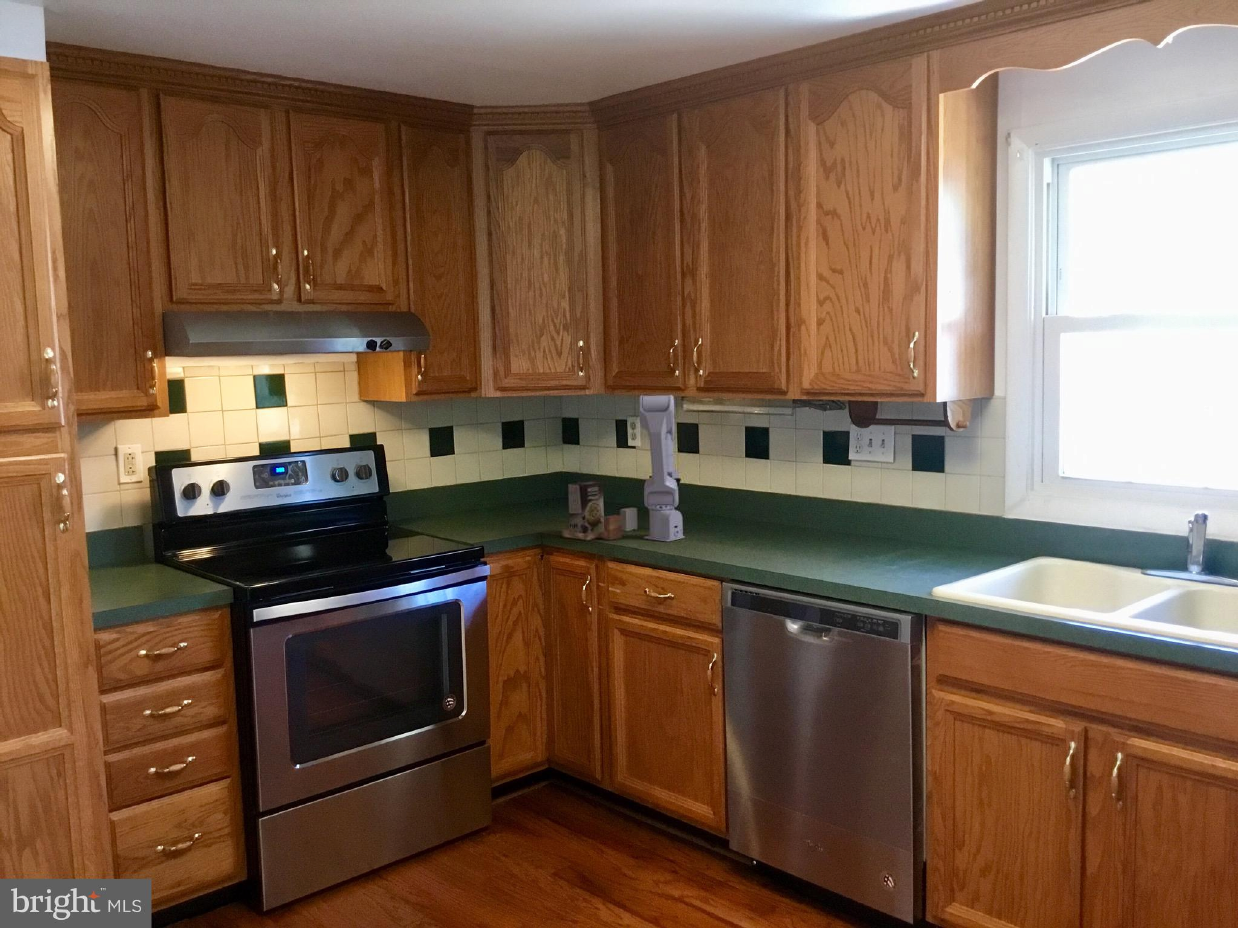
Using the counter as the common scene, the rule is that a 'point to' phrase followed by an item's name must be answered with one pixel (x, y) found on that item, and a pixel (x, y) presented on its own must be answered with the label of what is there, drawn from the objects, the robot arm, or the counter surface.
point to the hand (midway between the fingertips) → (665, 499)
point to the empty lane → (628, 519)
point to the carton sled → (610, 531)
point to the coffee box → (586, 507)
